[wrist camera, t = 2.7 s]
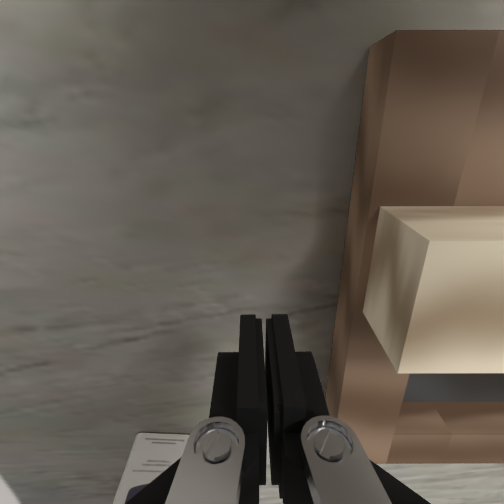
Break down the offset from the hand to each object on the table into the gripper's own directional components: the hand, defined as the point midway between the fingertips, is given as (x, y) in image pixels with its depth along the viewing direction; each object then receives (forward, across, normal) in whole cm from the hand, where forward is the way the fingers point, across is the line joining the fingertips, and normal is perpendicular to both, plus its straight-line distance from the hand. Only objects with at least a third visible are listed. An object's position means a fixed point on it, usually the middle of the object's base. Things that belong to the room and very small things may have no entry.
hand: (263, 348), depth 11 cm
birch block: (+6, -9, -1) cm, 10 cm away
